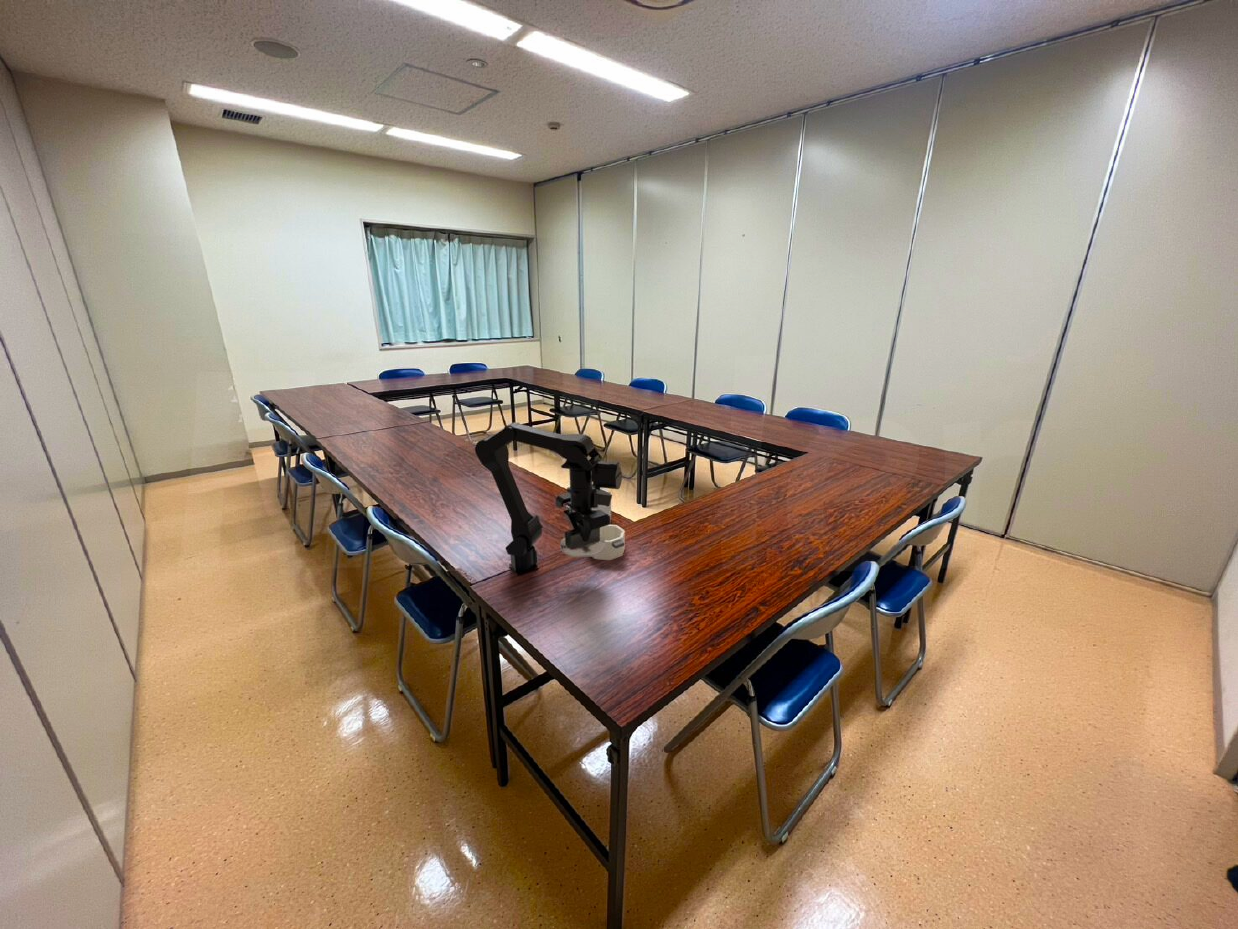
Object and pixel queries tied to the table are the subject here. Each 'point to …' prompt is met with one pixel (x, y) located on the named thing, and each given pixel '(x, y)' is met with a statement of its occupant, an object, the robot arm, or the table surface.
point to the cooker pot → (612, 542)
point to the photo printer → (603, 507)
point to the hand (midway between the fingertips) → (582, 538)
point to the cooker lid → (582, 543)
